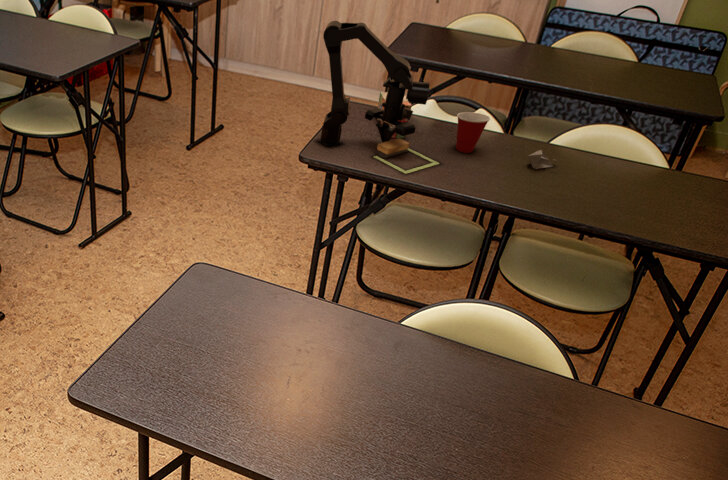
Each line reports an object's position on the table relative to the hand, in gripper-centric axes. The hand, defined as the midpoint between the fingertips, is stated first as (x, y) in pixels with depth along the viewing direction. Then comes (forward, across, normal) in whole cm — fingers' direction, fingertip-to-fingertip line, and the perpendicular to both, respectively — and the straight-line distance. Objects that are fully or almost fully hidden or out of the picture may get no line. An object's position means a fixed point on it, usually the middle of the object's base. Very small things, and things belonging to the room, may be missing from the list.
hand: (384, 145), depth 239 cm
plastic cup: (+1, -14, -25) cm, 29 cm away
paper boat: (+1, -38, -34) cm, 51 cm away
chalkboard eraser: (+1, -4, 0) cm, 4 cm away
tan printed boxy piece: (+2, +14, -16) cm, 21 cm away
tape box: (+1, -10, 0) cm, 10 cm away
